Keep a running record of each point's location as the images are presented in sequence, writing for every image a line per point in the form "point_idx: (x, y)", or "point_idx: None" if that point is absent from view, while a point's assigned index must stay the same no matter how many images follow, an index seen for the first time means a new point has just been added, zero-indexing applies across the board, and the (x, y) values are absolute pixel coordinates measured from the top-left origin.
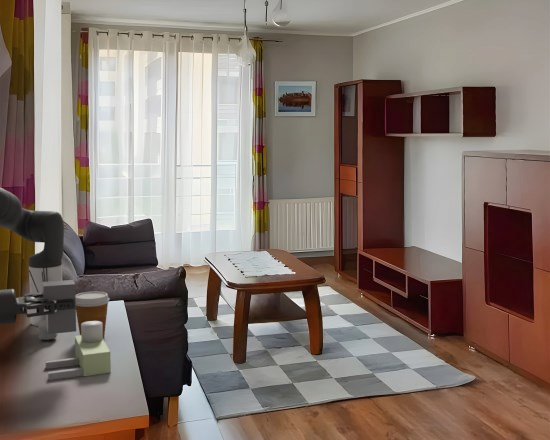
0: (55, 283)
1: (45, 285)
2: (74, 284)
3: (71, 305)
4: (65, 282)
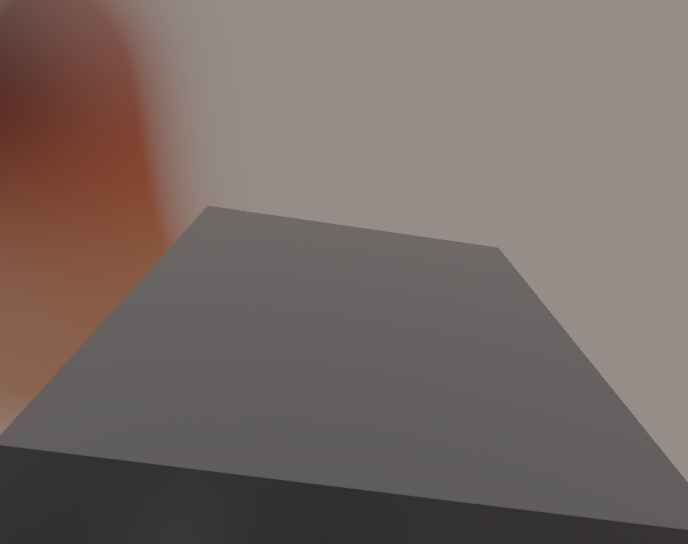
0: (385, 327)
1: (589, 475)
2: (497, 254)
3: None
4: (352, 260)
